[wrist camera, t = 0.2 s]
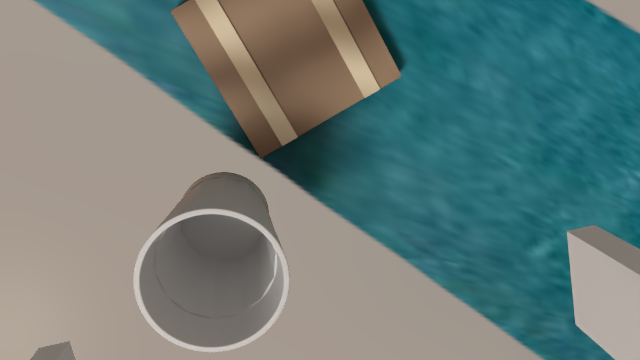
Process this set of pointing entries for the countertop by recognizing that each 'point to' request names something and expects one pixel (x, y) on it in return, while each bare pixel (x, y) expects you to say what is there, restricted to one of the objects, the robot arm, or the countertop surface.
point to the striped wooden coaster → (287, 61)
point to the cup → (213, 267)
